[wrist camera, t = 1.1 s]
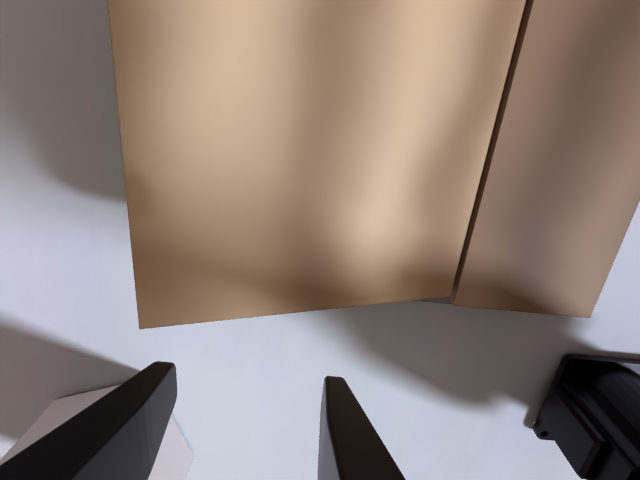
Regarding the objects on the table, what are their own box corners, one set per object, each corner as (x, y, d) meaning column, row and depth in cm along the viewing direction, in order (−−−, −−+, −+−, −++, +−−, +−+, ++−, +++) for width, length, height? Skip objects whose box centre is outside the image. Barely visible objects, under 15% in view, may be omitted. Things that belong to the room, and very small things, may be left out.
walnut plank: (728, -115, 14) (786, -145, 12) (567, 298, 21) (589, 317, 19) (546, -137, 14) (578, -171, 12) (442, 287, 20) (453, 305, 19)
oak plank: (521, -125, 14) (564, -152, 12) (429, 279, 20) (450, 296, 18) (90, -296, 9) (71, -373, 8) (143, 303, 15) (139, 329, 14)
